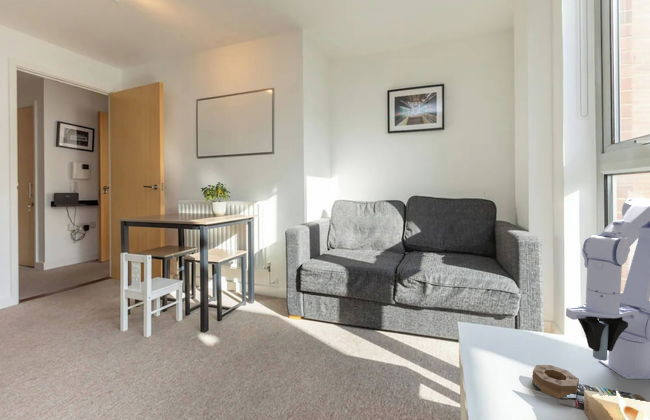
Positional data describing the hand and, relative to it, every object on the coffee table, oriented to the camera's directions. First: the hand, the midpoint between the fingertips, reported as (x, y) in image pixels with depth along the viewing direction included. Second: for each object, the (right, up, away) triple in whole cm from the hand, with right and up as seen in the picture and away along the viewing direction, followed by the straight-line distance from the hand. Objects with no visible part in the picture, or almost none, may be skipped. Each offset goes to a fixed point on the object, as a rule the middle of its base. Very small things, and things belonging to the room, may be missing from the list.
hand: (600, 349), depth 71 cm
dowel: (0, -2, 0) cm, 2 cm away
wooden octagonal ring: (-10, -9, +1) cm, 13 cm away
